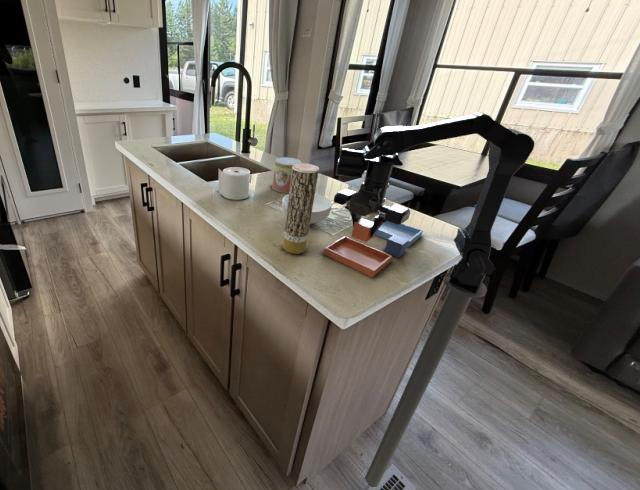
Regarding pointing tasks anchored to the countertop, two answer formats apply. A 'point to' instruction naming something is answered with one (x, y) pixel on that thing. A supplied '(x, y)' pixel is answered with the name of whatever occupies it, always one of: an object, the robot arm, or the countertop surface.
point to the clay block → (362, 230)
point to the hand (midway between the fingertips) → (363, 233)
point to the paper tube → (300, 207)
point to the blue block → (396, 246)
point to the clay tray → (358, 255)
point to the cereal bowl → (314, 208)
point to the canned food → (283, 173)
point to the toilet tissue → (234, 183)
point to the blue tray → (398, 231)
